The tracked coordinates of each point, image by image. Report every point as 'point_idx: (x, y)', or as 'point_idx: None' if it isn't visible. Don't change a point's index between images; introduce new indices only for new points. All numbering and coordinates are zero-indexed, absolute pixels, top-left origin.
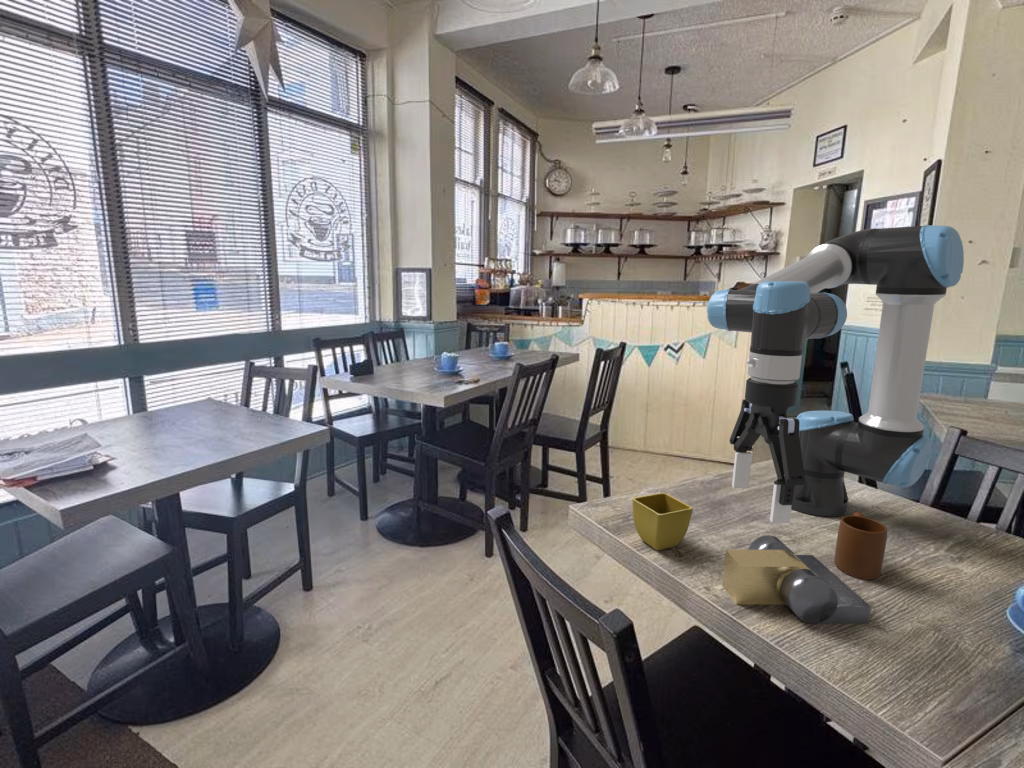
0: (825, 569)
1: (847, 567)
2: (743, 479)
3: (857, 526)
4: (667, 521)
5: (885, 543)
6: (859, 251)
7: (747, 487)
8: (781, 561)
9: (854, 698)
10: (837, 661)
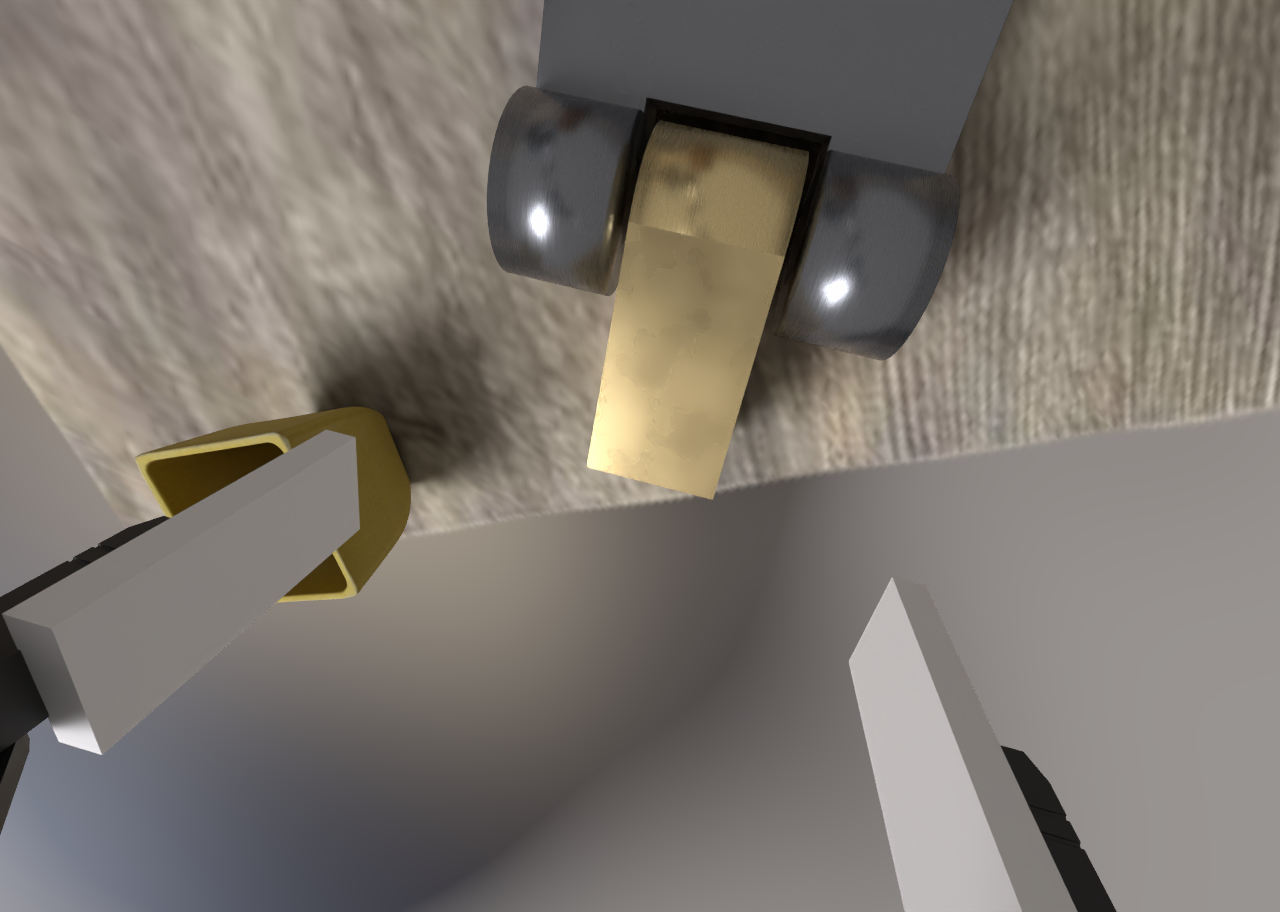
0: None
1: None
2: (312, 511)
3: None
4: (361, 538)
5: None
6: None
7: (352, 445)
8: (722, 309)
9: (1189, 418)
10: (1062, 339)
